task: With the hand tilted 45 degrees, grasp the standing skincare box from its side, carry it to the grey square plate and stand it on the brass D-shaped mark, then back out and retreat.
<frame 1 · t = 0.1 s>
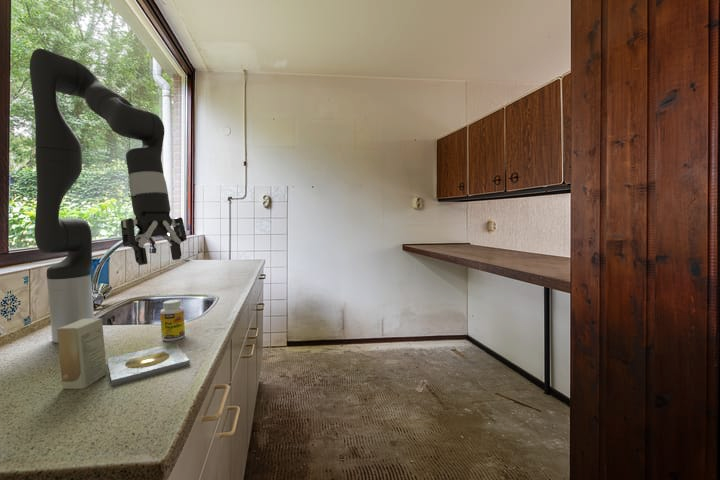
hand: (160, 262, 80), 22 cm above the countertop, tool pointing down, fingers open, 8 cm apart
grey square plate: (148, 364, 76), on the countertop
supplement bottle: (173, 338, 93), on the countertop
skincare box: (85, 382, 68), on the countertop
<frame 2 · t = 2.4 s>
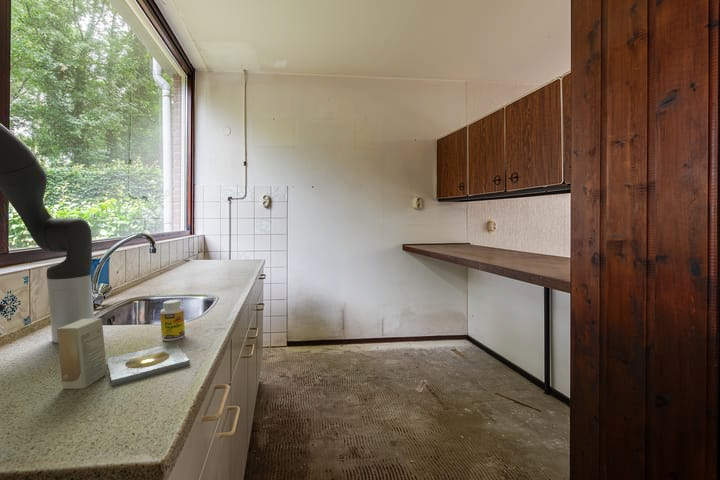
nothing on the countertop moved.
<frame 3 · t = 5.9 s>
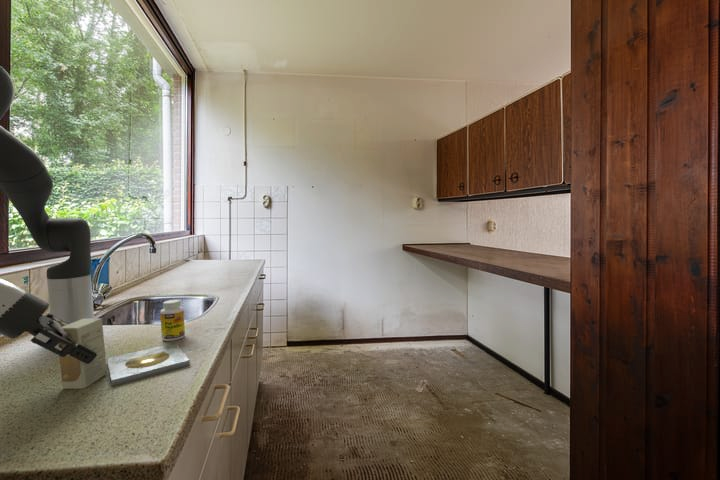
hand: (92, 353, 69), 6 cm above the countertop, tool tilted 45°, fingers closed on skincare box, 7 cm apart
skincare box: (85, 382, 68), on the countertop, touching gripper
everything else where it was.
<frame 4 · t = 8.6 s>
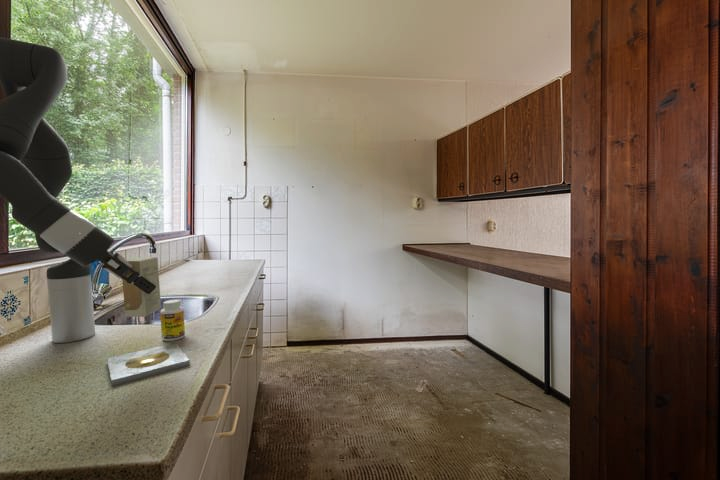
hand: (149, 287, 76), 17 cm above the countertop, tool tilted 45°, fingers closed on skincare box, 7 cm apart
skincare box: (143, 314, 75), point 12 cm above the countertop, touching gripper
everything else where it was.
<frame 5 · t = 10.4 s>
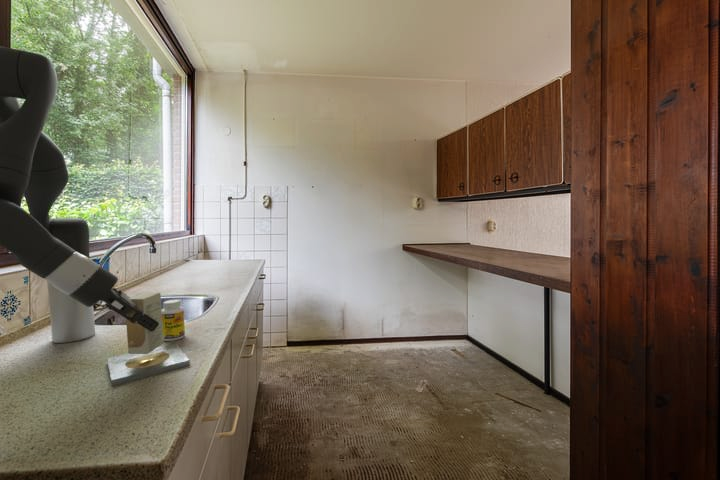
hand: (152, 323, 76), 9 cm above the countertop, tool tilted 45°, fingers closed on skincare box, 7 cm apart
skincare box: (146, 350, 76), point 3 cm above the countertop, touching gripper
everything else where it was.
when the fingers open (8 cm above the countertop, at t = 11.9 s): skincare box stays where it is, resting on grey square plate.
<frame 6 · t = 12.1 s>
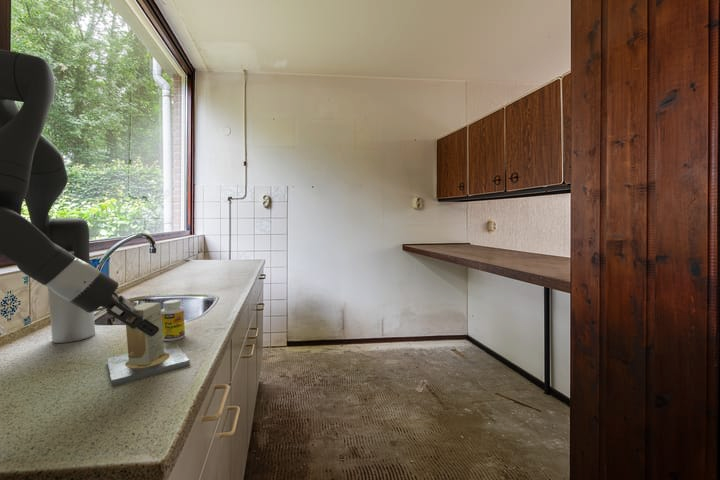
hand: (152, 327, 76), 8 cm above the countertop, tool tilted 45°, fingers open, 8 cm apart
skincare box: (147, 360, 76), point 1 cm above the countertop, touching grey square plate
everything else where it was.
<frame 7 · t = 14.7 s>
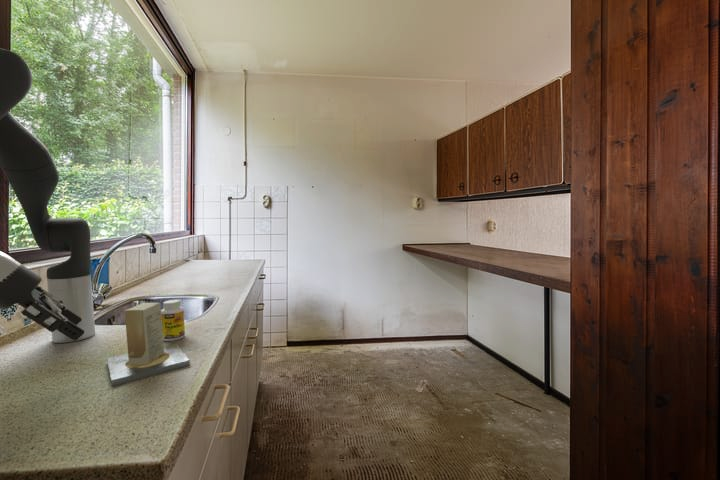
hand: (79, 329, 70), 10 cm above the countertop, tool tilted 40°, fingers open, 8 cm apart
nothing on the countertop moved.
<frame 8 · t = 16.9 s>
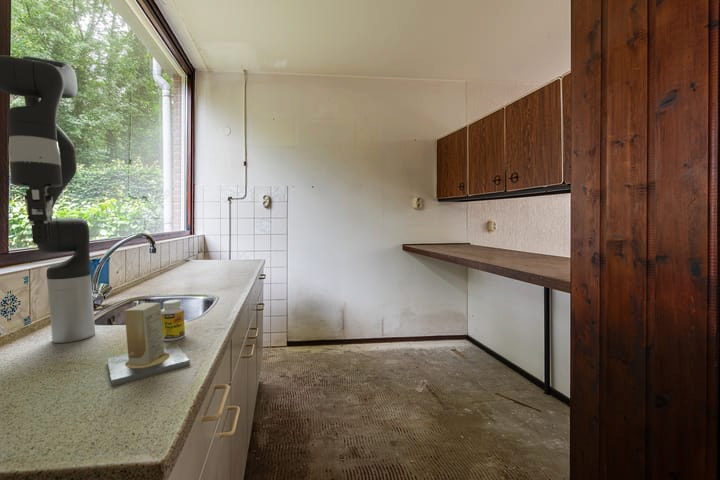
hand: (42, 242, 69), 28 cm above the countertop, tool pointing down, fingers open, 8 cm apart
nothing on the countertop moved.
at the end: skincare box 0.3 cm from the grey square plate (horizontally); skincare box tilted 0°; the gripper is holding nothing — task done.
